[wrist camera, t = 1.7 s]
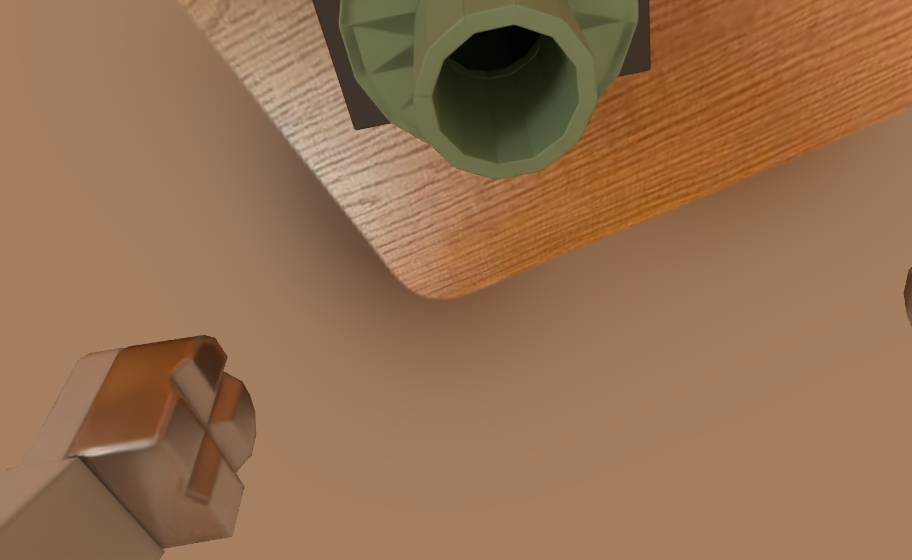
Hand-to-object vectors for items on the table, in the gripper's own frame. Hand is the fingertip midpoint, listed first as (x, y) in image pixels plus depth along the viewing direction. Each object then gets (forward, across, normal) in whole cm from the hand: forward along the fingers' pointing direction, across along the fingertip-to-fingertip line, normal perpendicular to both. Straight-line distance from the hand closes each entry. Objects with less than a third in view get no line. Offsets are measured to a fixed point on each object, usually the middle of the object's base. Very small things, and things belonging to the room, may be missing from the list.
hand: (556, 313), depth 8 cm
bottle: (+23, 0, 0) cm, 23 cm away
